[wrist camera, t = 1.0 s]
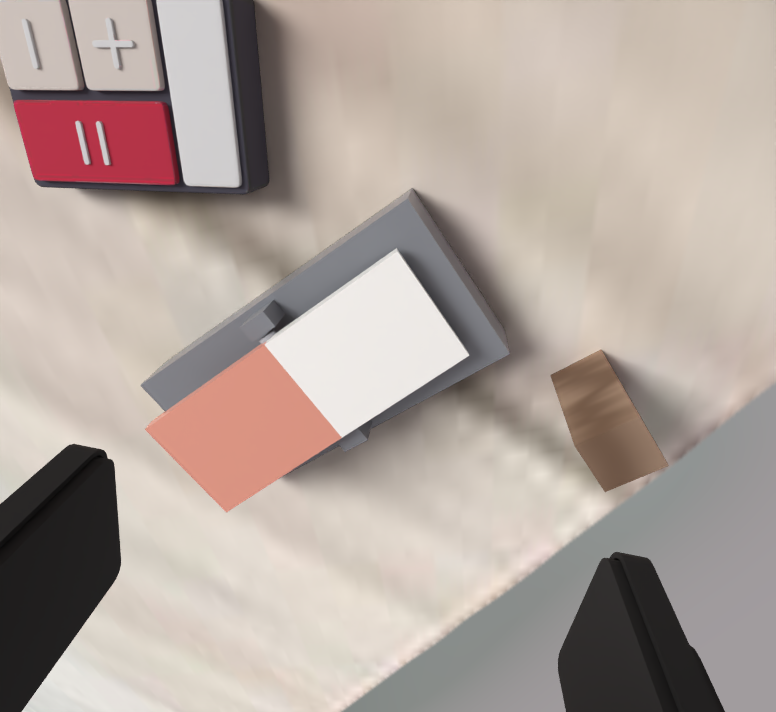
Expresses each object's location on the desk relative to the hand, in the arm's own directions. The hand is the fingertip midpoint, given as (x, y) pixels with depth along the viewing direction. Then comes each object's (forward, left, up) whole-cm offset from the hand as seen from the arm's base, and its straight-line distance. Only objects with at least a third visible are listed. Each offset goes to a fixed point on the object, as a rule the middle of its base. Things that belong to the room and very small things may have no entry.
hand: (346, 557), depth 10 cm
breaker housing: (+11, +3, -29) cm, 31 cm away
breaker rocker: (+11, +3, -23) cm, 26 cm away
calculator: (+10, -17, -30) cm, 36 cm away
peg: (-4, +16, -29) cm, 34 cm away
